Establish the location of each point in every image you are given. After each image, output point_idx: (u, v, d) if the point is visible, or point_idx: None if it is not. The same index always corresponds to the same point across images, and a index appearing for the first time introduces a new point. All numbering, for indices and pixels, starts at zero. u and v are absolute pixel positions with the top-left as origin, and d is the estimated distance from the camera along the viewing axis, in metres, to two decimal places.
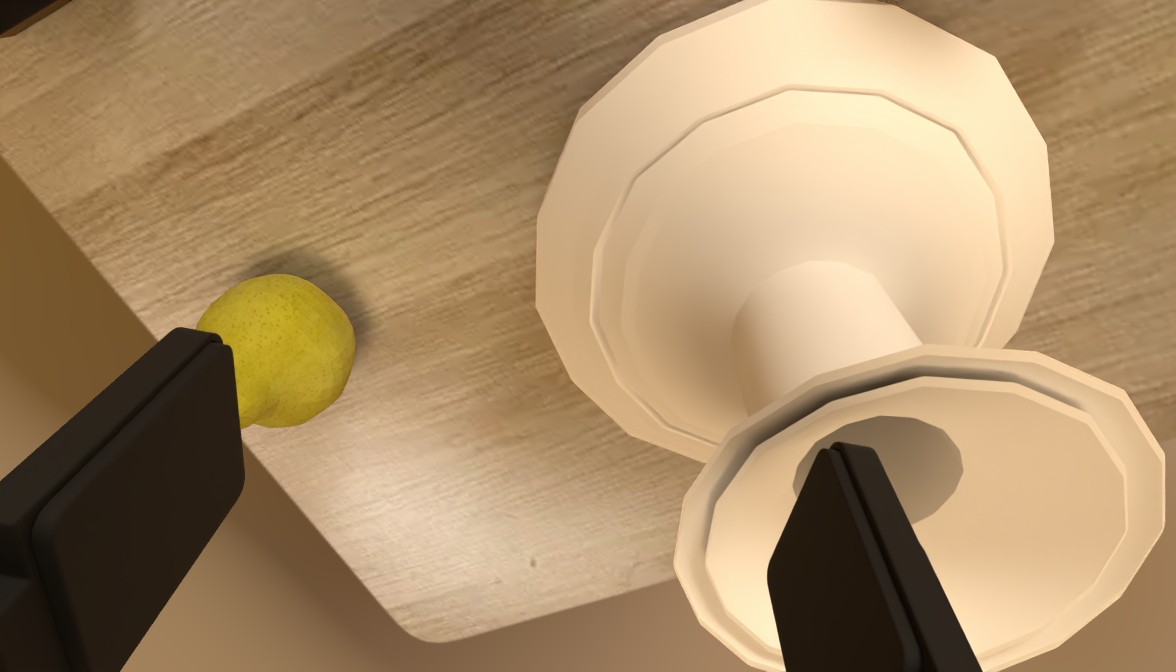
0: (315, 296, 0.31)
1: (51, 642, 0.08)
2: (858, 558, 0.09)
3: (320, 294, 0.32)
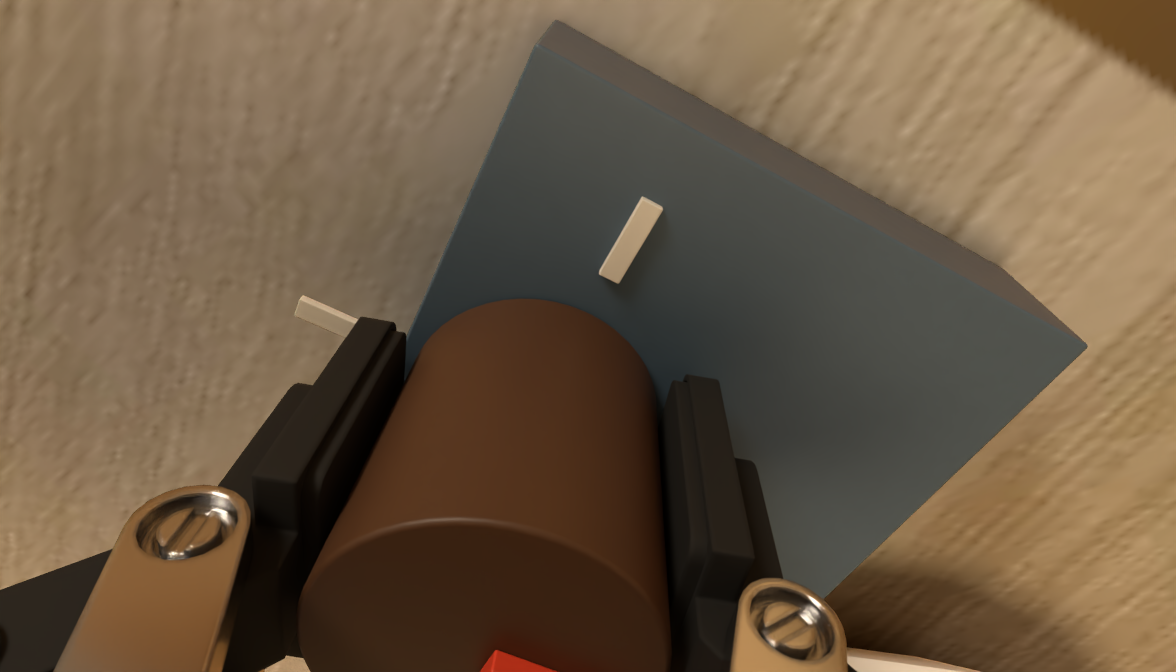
0: None
1: (300, 589, 0.09)
2: (679, 468, 0.10)
3: None
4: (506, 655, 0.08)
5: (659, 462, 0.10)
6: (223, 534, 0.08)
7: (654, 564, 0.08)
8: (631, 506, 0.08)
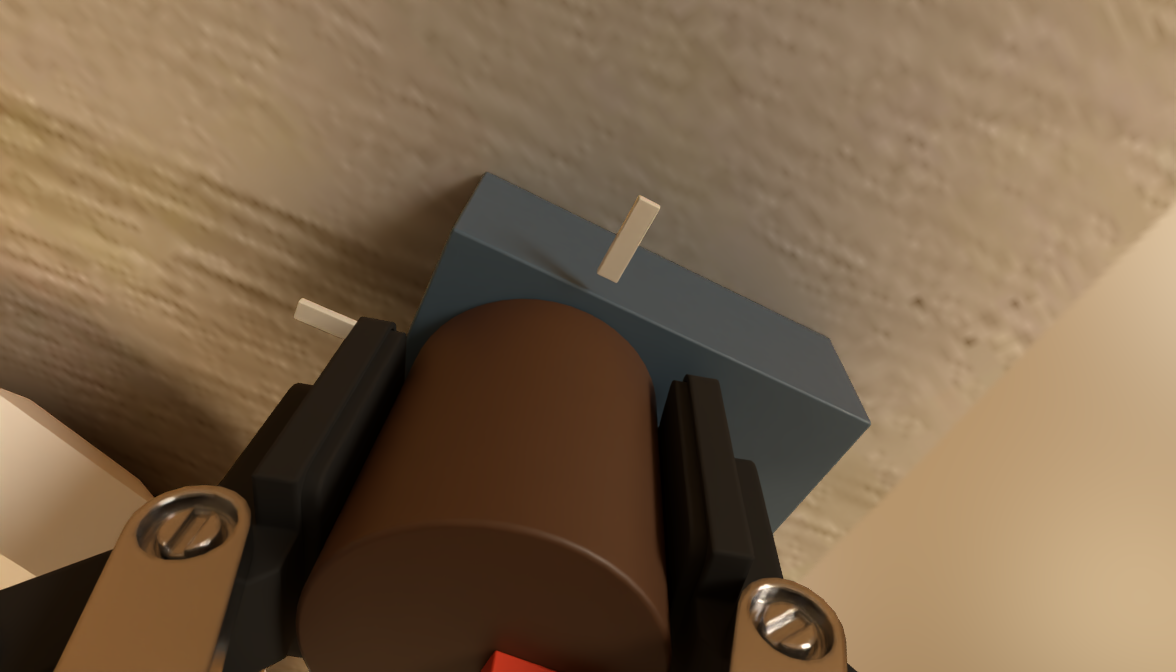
0: None
1: (300, 589, 0.09)
2: (679, 468, 0.10)
3: None
4: (505, 655, 0.08)
5: (659, 461, 0.10)
6: (223, 534, 0.08)
7: (653, 563, 0.08)
8: (630, 506, 0.08)
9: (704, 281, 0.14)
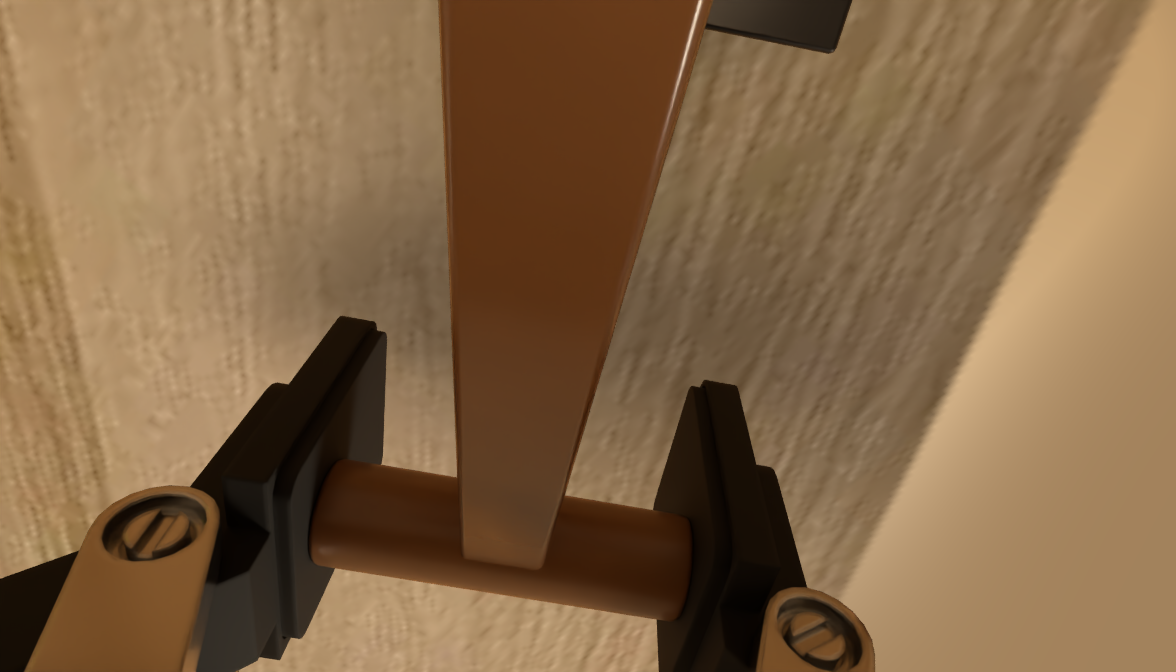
0: None
1: (273, 590, 0.09)
2: (700, 475, 0.10)
3: None
4: None
5: None
6: (192, 535, 0.08)
7: None
8: None
9: None
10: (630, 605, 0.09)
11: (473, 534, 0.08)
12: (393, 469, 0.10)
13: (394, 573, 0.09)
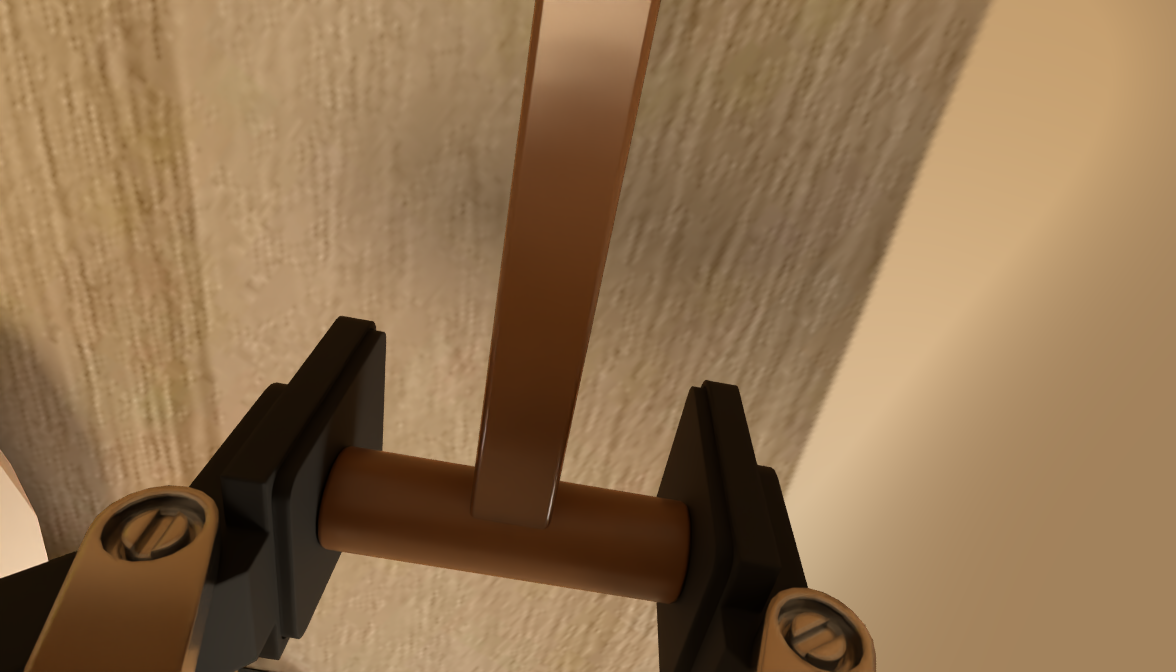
0: None
1: (272, 591, 0.09)
2: (701, 476, 0.10)
3: None
4: None
5: None
6: (191, 535, 0.08)
7: None
8: None
9: None
10: (634, 569, 0.09)
11: (490, 460, 0.09)
12: None
13: (401, 542, 0.09)
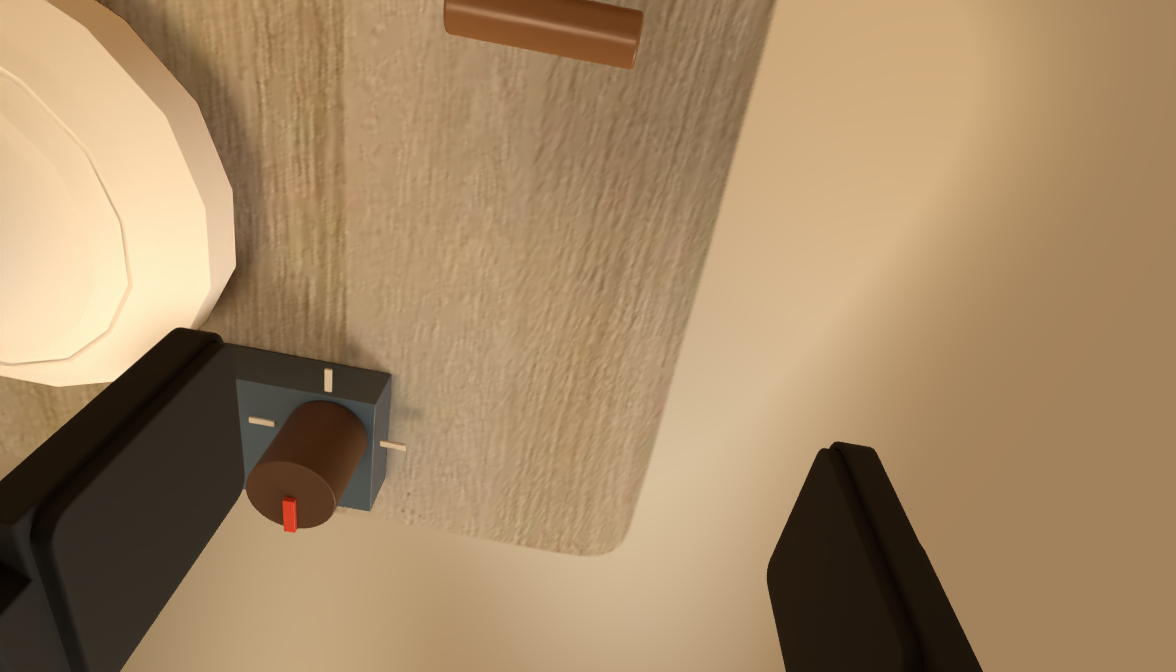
0: None
1: (52, 641, 0.08)
2: (858, 558, 0.09)
3: None
4: (295, 500, 0.34)
5: None
6: None
7: None
8: None
9: None
10: (613, 20, 0.18)
11: None
12: None
13: (489, 2, 0.17)
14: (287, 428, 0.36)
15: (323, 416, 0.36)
